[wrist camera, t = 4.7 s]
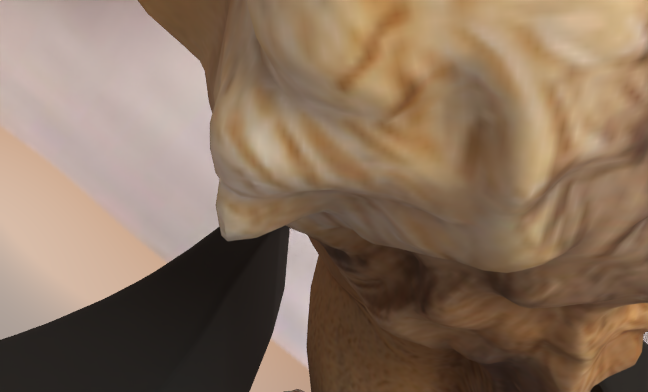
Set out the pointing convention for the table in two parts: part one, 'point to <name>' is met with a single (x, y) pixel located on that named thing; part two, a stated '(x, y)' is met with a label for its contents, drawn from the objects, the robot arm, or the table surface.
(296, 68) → the lion figurine
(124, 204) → the table surface
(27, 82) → the table surface
